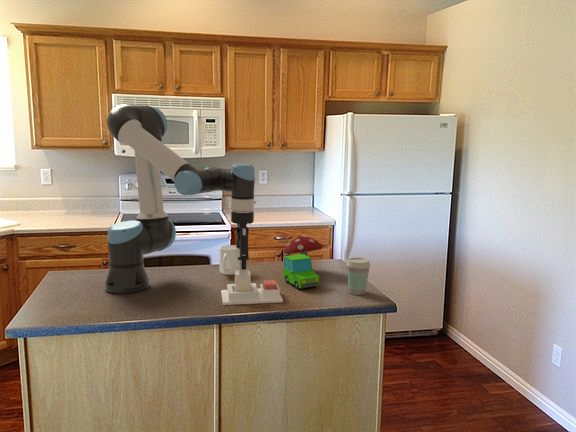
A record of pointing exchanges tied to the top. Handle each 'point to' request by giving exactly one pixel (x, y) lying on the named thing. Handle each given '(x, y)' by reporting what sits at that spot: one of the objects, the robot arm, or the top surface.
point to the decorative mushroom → (302, 245)
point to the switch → (269, 284)
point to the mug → (228, 260)
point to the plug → (242, 283)
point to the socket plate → (250, 295)
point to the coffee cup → (357, 275)
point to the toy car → (300, 271)
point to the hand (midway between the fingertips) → (241, 272)
